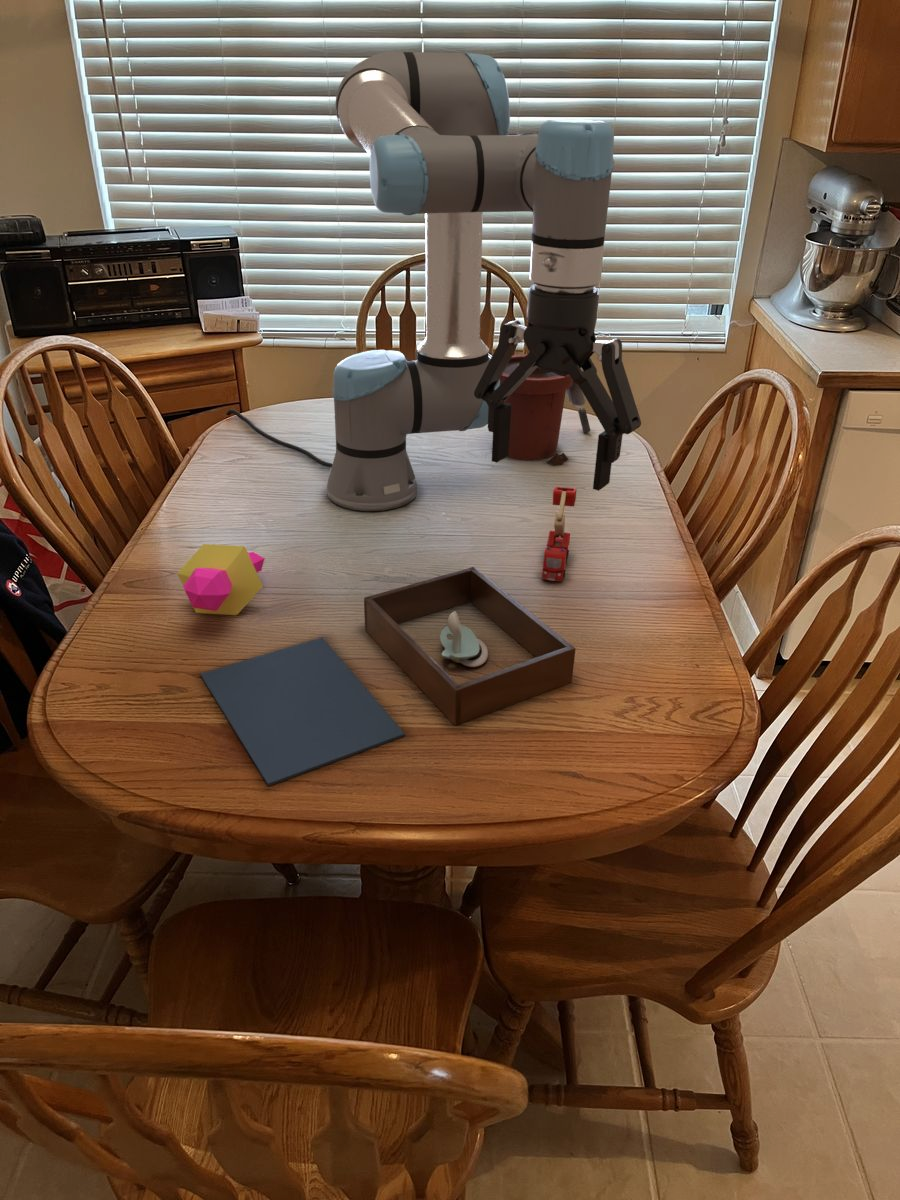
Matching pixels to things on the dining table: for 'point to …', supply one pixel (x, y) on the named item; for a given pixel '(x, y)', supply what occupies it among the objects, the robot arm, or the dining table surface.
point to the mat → (299, 709)
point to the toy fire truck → (558, 547)
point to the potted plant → (540, 413)
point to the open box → (507, 613)
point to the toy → (221, 578)
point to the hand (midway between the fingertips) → (549, 472)
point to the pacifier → (462, 643)
